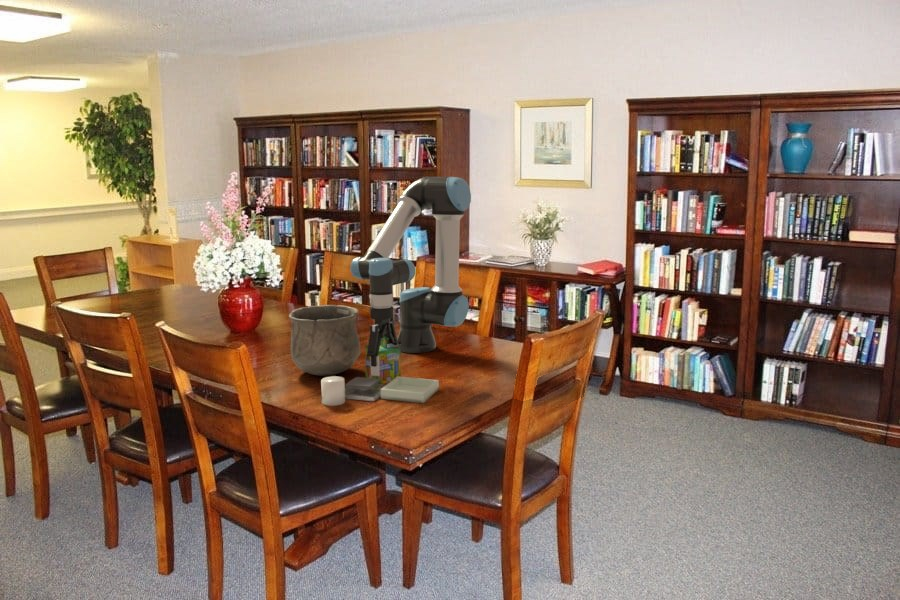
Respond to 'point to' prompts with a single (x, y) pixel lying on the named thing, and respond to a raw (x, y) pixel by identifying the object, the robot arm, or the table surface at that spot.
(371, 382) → the checker plate
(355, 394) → the checker base
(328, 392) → the white cylinder
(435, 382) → the trough tray
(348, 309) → the pot
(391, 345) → the chalk box
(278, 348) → the table surface
